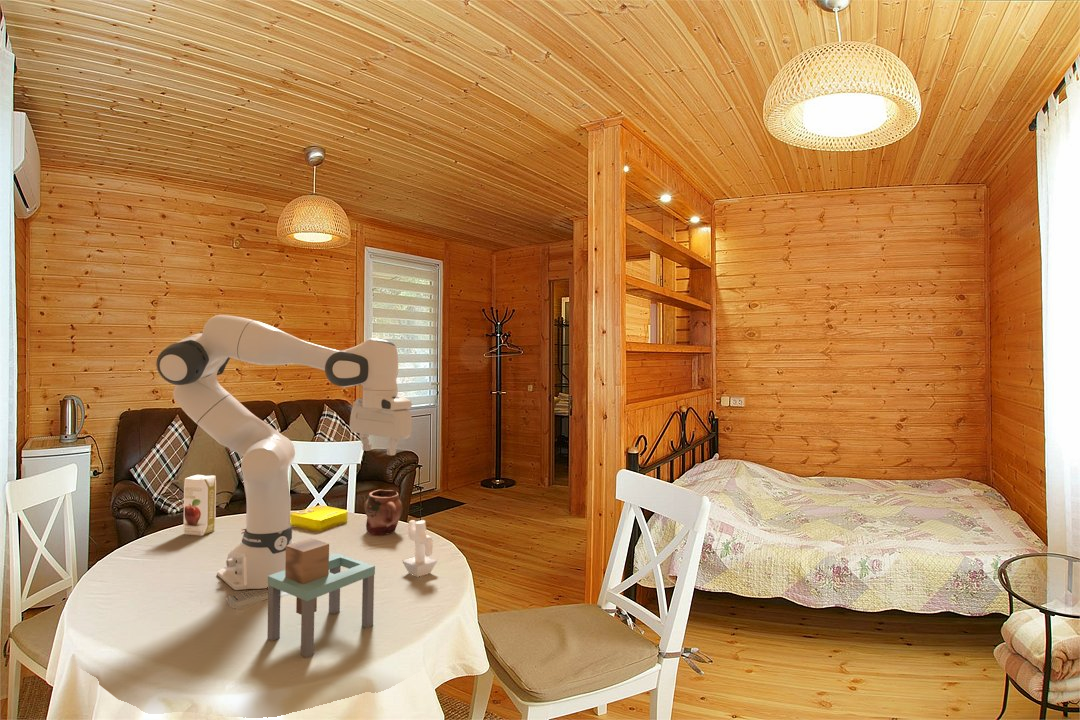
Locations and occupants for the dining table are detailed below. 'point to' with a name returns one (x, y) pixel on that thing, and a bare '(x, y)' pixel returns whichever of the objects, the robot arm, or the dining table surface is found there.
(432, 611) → the dining table surface
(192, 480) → the juice carton
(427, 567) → the figurine
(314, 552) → the walnut peg
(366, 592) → the keyhole shelf
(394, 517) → the decorative planter
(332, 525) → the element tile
